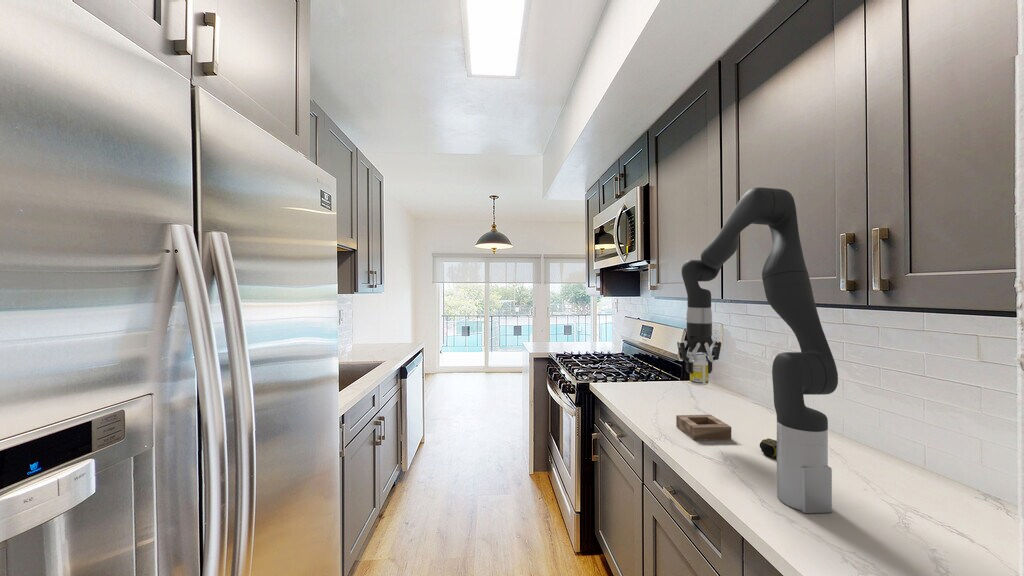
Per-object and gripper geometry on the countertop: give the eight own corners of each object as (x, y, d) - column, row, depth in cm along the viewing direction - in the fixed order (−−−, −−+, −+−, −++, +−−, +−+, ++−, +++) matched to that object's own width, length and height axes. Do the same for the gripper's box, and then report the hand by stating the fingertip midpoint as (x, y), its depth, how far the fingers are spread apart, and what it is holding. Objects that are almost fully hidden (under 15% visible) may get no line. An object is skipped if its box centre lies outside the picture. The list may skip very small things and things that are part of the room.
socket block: (731, 439, 125) (731, 426, 125) (694, 440, 124) (693, 427, 124) (710, 426, 137) (710, 414, 137) (676, 426, 136) (676, 415, 136)
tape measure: (794, 457, 112) (794, 444, 112) (780, 462, 109) (780, 448, 109) (768, 449, 118) (768, 436, 118) (755, 453, 115) (755, 440, 115)
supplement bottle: (702, 381, 133) (702, 352, 133) (711, 385, 127) (711, 355, 127) (686, 381, 132) (686, 352, 132) (695, 386, 127) (695, 355, 127)
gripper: (683, 322, 125) (683, 376, 126) (727, 322, 126) (727, 375, 127) (672, 320, 133) (672, 371, 133) (713, 319, 134) (713, 370, 134)
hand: (699, 372), depth 130 cm, fingers closed on supplement bottle, 5 cm apart
